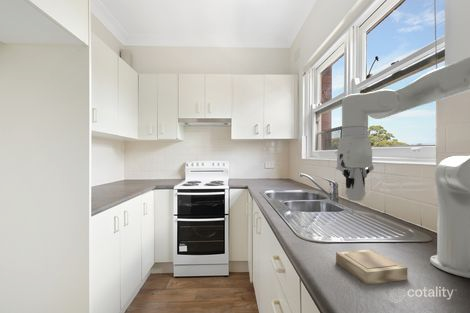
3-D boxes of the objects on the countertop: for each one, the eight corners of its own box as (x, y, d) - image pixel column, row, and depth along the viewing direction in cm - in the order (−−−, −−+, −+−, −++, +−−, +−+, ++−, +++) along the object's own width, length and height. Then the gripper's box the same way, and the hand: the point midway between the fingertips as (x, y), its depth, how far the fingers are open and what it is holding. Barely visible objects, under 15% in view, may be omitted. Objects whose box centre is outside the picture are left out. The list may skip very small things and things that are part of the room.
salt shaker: (368, 201, 72) (367, 159, 72) (348, 201, 73) (347, 159, 73) (361, 198, 78) (361, 159, 78) (343, 197, 79) (343, 159, 79)
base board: (370, 259, 71) (371, 248, 71) (407, 279, 60) (407, 267, 60) (336, 262, 69) (336, 251, 69) (366, 284, 57) (367, 271, 57)
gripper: (367, 134, 81) (368, 187, 81) (325, 134, 78) (325, 189, 78) (385, 132, 74) (386, 190, 74) (340, 131, 70) (340, 192, 70)
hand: (355, 189), depth 76 cm, fingers closed on salt shaker, 3 cm apart
